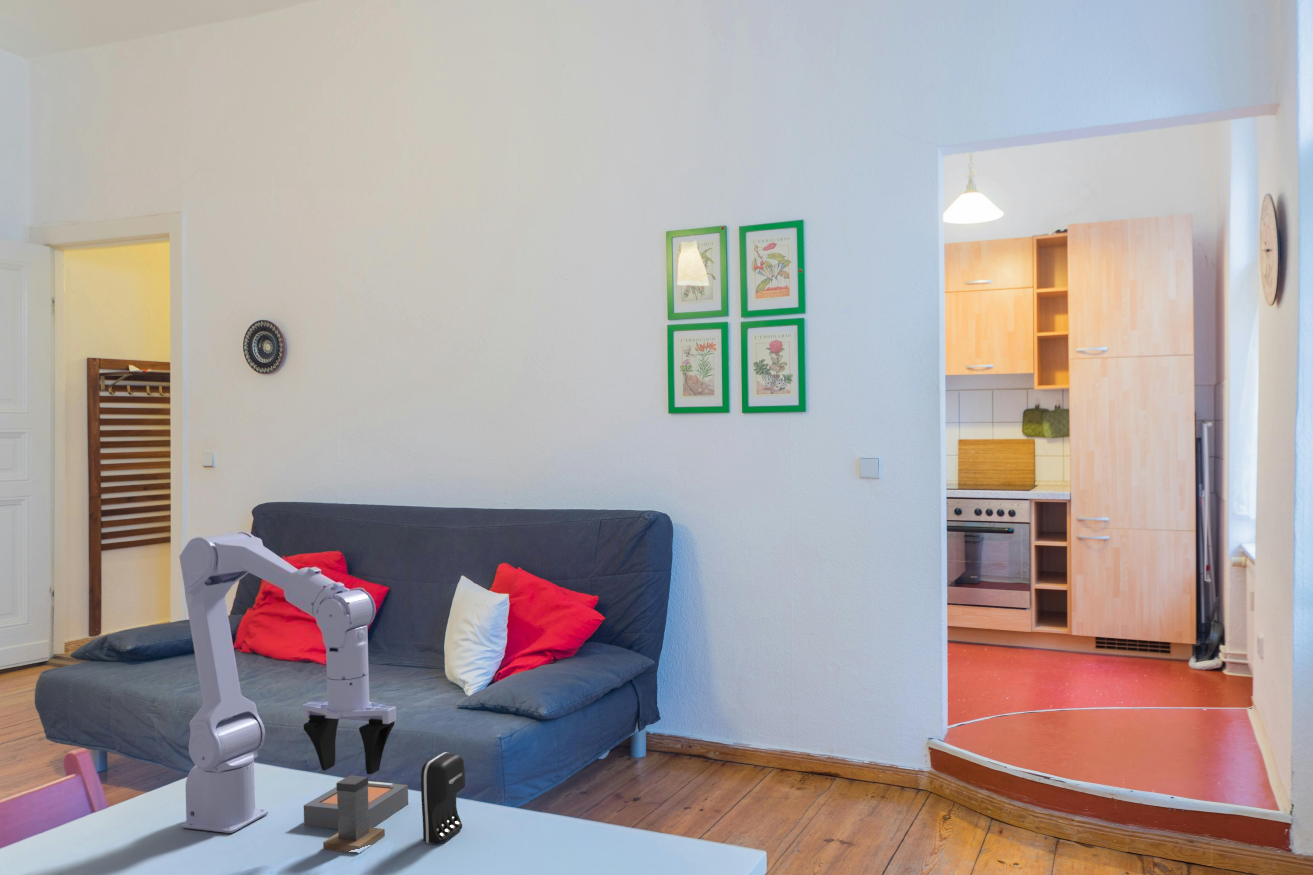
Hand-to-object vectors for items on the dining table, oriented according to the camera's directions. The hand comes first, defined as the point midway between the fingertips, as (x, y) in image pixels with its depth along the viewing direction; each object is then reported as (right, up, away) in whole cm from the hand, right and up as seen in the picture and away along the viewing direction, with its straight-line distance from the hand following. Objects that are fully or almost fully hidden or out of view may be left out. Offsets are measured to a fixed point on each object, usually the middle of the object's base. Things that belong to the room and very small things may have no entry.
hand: (350, 769), depth 132 cm
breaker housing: (-2, -11, +10) cm, 15 cm away
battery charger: (+14, -10, +1) cm, 17 cm away
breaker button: (-2, -10, +10) cm, 15 cm away
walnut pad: (+1, -10, 0) cm, 10 cm away
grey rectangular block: (+1, -9, 0) cm, 9 cm away
